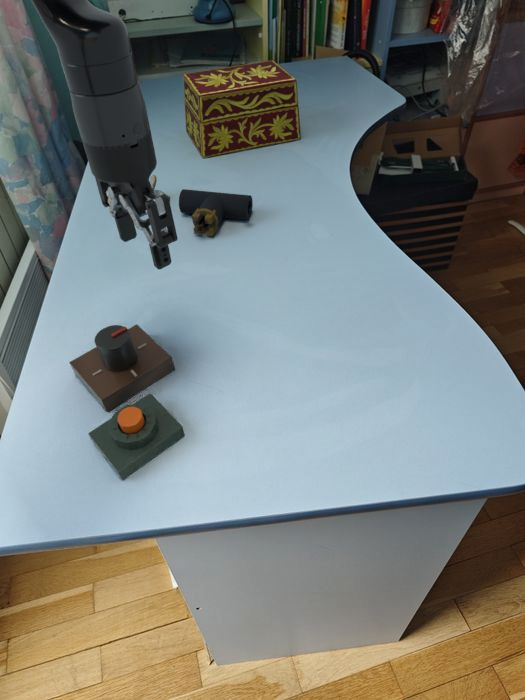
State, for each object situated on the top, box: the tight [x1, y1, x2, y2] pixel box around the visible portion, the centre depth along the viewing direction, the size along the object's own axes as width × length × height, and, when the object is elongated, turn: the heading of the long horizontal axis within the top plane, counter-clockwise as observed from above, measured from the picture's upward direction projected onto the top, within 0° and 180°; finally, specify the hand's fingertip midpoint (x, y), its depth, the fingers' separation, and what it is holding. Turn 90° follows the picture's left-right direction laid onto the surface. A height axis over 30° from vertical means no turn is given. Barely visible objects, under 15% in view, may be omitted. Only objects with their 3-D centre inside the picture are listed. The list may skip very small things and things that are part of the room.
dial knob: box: [94, 324, 137, 372], centre depth 72 cm, size 5×5×5 cm
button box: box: [87, 392, 186, 481], centre depth 66 cm, size 10×8×4 cm
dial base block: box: [69, 324, 176, 413], centre depth 74 cm, size 12×10×3 cm
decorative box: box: [182, 60, 302, 159], centre depth 128 cm, size 28×19×15 cm
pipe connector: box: [178, 188, 254, 237], centre depth 102 cm, size 12×5×15 cm
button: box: [118, 407, 145, 434], centre depth 64 cm, size 3×3×2 cm
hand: (145, 252), depth 65 cm, fingers open, 8 cm apart
